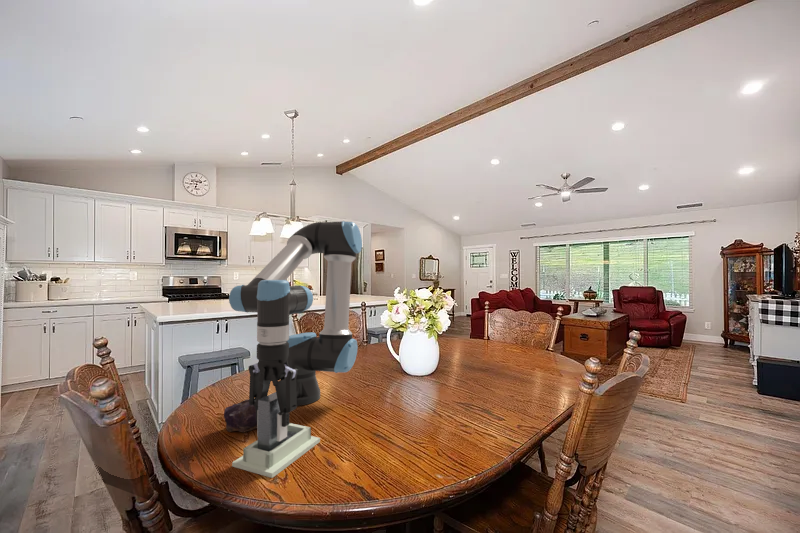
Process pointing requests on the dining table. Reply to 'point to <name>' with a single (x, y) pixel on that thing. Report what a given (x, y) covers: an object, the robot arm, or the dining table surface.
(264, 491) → the dining table surface
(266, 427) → the grey l-shaped block
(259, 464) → the rectangular frame
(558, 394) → the dining table surface
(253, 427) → the rock
